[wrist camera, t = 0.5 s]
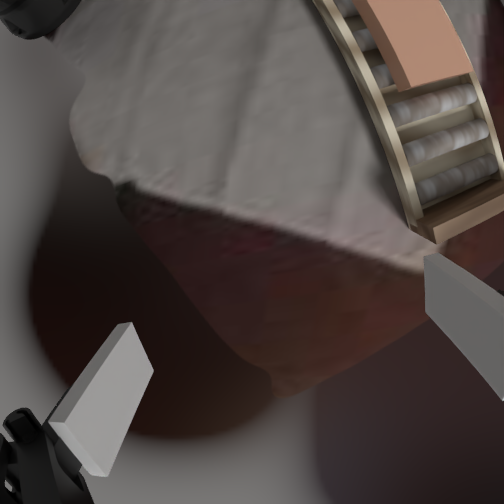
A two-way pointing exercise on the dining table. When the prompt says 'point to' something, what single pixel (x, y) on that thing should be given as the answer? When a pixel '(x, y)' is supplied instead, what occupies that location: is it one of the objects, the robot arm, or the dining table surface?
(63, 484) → the robot arm
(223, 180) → the dining table surface
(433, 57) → the slab
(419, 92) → the roller bed
